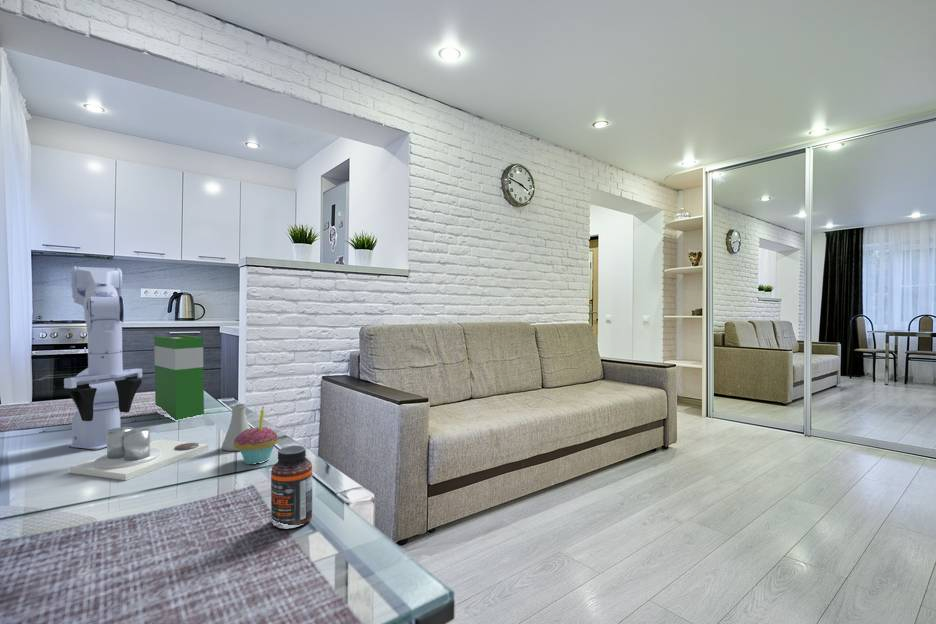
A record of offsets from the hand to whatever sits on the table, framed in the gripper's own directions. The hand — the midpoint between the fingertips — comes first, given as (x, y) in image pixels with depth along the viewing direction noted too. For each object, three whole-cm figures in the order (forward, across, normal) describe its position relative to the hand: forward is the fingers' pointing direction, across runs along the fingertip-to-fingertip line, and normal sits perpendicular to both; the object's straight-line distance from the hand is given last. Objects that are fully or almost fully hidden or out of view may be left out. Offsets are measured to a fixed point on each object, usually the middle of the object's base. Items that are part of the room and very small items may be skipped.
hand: (106, 416), depth 96 cm
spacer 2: (+8, 0, -8) cm, 12 cm away
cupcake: (+10, +9, -30) cm, 33 cm away
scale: (+10, +3, -6) cm, 12 cm away
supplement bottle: (+10, -12, -56) cm, 58 cm away
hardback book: (+10, +37, +22) cm, 44 cm away
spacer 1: (+8, 0, -4) cm, 9 cm away
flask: (+10, +16, -20) cm, 27 cm away
